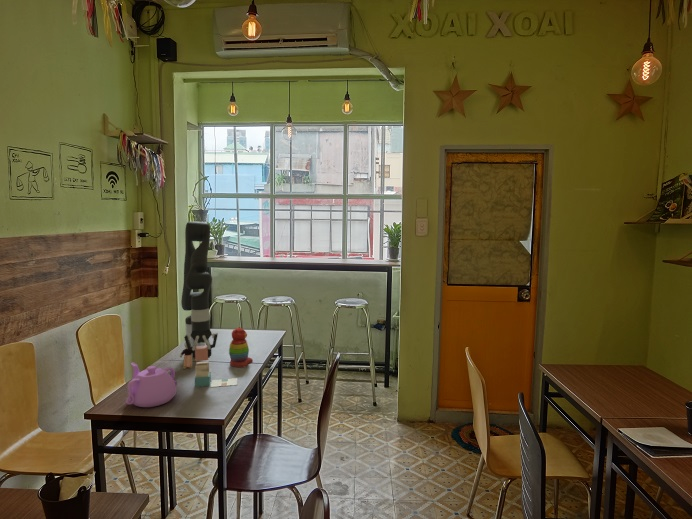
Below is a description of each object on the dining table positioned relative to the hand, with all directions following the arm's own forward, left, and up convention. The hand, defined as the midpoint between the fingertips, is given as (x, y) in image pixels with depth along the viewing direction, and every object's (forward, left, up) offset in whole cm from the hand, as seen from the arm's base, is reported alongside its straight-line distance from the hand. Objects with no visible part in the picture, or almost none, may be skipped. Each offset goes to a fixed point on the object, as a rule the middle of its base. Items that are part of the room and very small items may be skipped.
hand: (202, 357), depth 191 cm
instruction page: (+1, +9, -12) cm, 15 cm away
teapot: (+13, -19, -12) cm, 26 cm away
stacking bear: (-24, +15, -12) cm, 31 cm away
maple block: (0, 0, -8) cm, 8 cm away
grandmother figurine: (-24, -9, -12) cm, 28 cm away
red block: (0, 0, 0) cm, 0 cm away
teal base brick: (0, 0, -12) cm, 12 cm away
